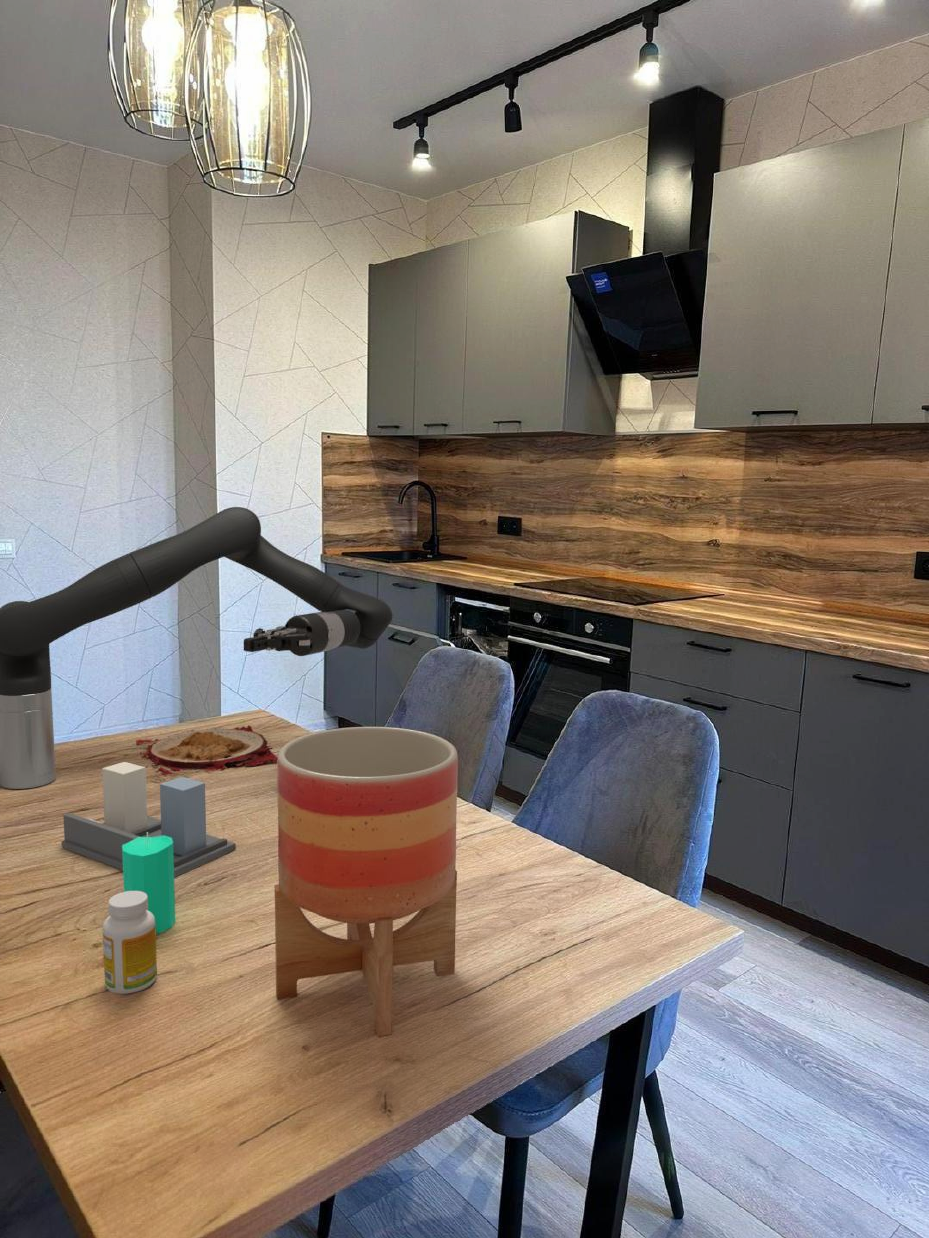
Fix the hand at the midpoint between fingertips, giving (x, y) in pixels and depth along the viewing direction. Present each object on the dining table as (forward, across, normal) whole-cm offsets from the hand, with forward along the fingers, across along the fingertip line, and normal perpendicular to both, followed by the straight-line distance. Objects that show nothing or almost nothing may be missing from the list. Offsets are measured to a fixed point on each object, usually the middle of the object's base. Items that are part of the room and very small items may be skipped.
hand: (246, 645), depth 145 cm
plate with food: (-16, -29, +29) cm, 44 cm away
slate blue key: (+21, +8, +27) cm, 35 cm away
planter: (+33, +51, +28) cm, 67 cm away
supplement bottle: (+47, +29, +28) cm, 62 cm away
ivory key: (+21, -5, +27) cm, 34 cm away
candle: (+37, +20, +28) cm, 51 cm away
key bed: (+22, +1, +28) cm, 36 cm away
